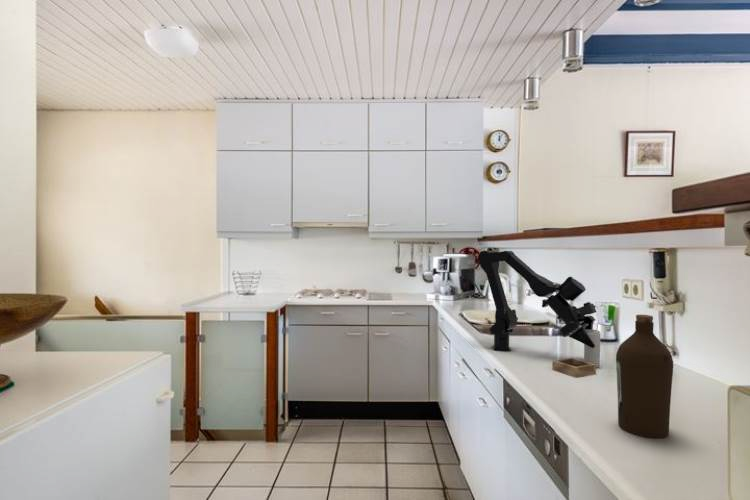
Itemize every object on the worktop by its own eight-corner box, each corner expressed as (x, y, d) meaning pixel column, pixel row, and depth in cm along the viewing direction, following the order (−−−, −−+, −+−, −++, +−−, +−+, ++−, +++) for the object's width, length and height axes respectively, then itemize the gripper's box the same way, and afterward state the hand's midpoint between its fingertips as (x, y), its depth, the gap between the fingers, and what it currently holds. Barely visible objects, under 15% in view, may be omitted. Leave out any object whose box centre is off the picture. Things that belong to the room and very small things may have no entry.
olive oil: (675, 428, 93) (676, 315, 93) (668, 445, 85) (670, 321, 85) (620, 415, 100) (622, 310, 100) (610, 429, 92) (611, 315, 92)
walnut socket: (552, 369, 138) (552, 360, 138) (571, 366, 142) (571, 357, 142) (576, 377, 130) (576, 368, 130) (595, 373, 134) (596, 364, 134)
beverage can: (596, 364, 144) (596, 329, 144) (602, 368, 140) (603, 332, 139) (581, 364, 145) (582, 329, 145) (587, 368, 140) (587, 331, 140)
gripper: (570, 296, 138) (607, 335, 130) (589, 292, 151) (623, 327, 144) (546, 317, 144) (579, 356, 136) (566, 312, 157) (598, 346, 149)
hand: (596, 345), depth 141 cm, fingers closed on beverage can, 5 cm apart
